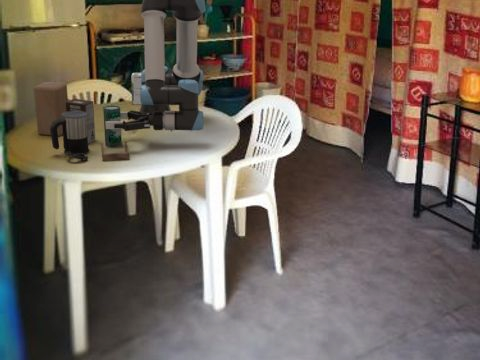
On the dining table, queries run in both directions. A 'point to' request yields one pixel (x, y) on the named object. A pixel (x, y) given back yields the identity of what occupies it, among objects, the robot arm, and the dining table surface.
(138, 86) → the syrup box
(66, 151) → the milk frother
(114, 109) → the can
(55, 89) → the block
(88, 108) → the coffee box
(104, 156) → the brown flat u-shaped piece
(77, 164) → the dining table surface
